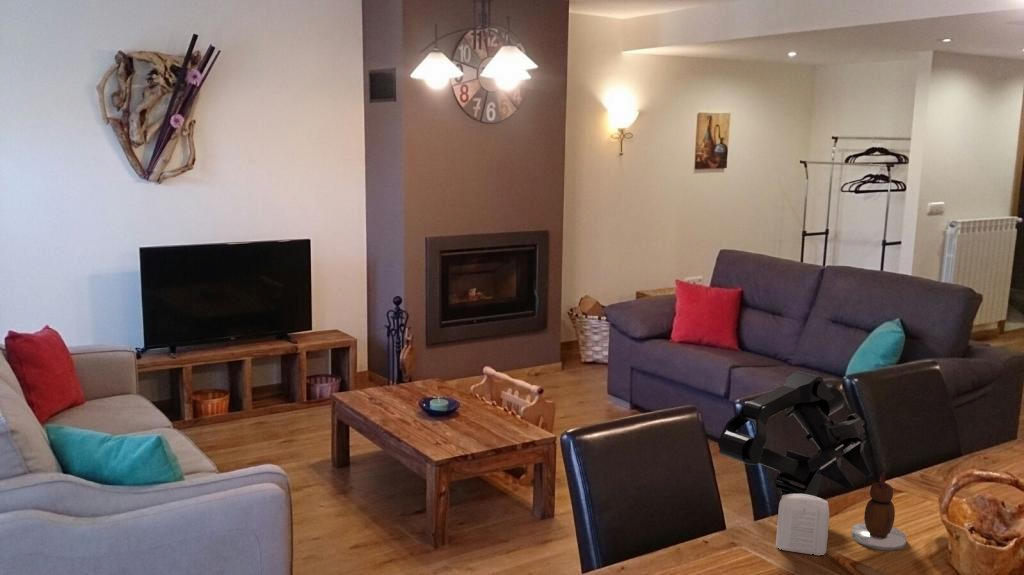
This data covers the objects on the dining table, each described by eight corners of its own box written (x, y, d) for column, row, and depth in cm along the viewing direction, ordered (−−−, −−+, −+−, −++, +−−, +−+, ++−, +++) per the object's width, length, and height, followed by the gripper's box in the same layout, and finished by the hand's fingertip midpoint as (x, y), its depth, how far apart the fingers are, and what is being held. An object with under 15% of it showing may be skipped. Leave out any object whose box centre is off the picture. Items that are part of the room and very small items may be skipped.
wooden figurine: (887, 541, 192) (893, 475, 190) (859, 534, 196) (865, 468, 193) (896, 531, 197) (902, 466, 195) (869, 524, 201) (874, 459, 198)
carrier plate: (850, 545, 194) (851, 538, 193) (852, 525, 204) (852, 519, 203) (906, 554, 190) (907, 548, 189) (905, 533, 200) (905, 527, 199)
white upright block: (826, 549, 192) (830, 494, 190) (826, 558, 188) (830, 502, 186) (775, 542, 195) (779, 488, 193) (775, 550, 191) (779, 495, 189)
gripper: (822, 416, 193) (871, 478, 188) (859, 394, 206) (905, 452, 201) (787, 442, 200) (832, 502, 194) (825, 419, 213) (868, 476, 208)
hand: (861, 482), depth 199 cm, fingers open, 9 cm apart
